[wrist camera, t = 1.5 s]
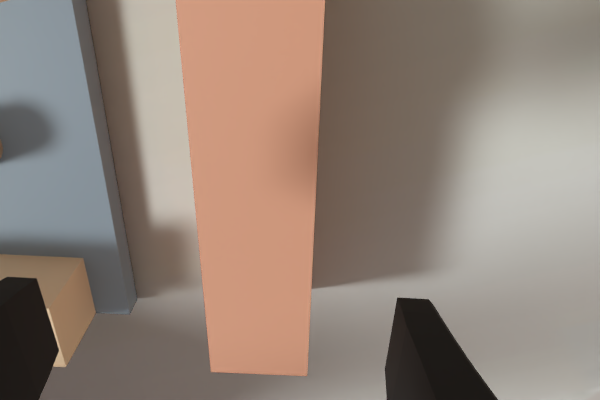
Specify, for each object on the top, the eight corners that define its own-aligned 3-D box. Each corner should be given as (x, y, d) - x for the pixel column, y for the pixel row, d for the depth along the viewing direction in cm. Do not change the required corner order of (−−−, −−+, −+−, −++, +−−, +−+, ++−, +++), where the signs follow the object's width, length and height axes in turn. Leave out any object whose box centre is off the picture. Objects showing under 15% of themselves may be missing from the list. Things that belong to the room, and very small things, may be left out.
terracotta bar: (309, 286, 22) (307, 376, 18) (231, 283, 22) (210, 372, 18) (325, -68, 15) (328, -60, 11) (211, -72, 15) (169, -65, 11)
